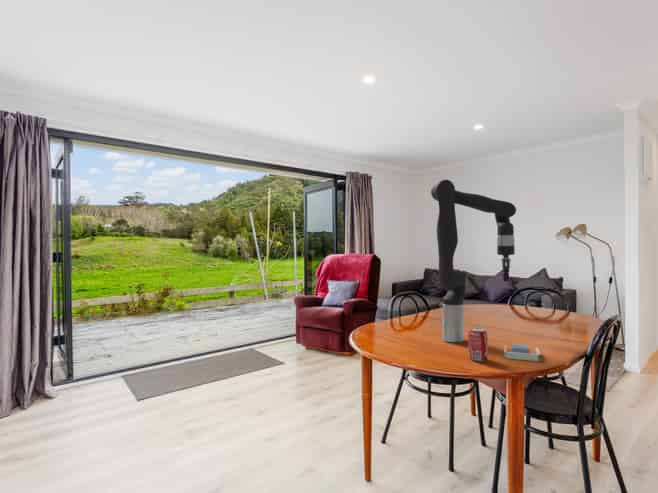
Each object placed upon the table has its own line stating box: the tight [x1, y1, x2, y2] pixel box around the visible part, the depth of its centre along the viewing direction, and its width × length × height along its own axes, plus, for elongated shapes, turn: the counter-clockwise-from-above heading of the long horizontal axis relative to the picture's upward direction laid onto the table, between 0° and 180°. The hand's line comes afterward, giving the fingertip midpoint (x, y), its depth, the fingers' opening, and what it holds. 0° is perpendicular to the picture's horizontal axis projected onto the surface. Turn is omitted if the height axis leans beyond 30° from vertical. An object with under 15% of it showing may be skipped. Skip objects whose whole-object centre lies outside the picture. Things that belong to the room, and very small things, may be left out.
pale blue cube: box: [510, 343, 531, 354], centre depth 153 cm, size 6×6×4 cm
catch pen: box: [503, 344, 541, 362], centre depth 153 cm, size 13×11×2 cm
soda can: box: [467, 327, 489, 363], centre depth 149 cm, size 7×7×12 cm
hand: (506, 281), depth 182 cm, fingers closed
